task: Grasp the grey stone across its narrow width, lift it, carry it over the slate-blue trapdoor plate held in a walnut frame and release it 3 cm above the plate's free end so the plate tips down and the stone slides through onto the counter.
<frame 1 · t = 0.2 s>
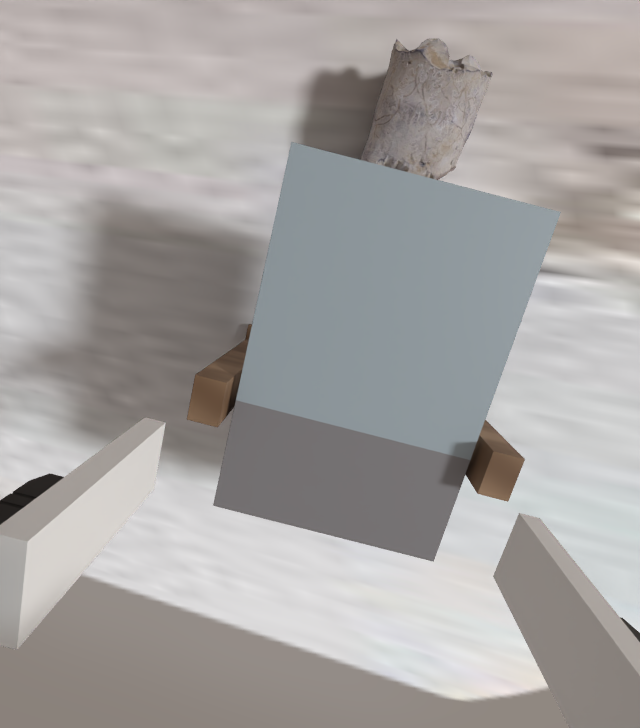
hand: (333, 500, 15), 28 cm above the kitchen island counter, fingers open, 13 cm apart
stone: (414, 136, 37), on the kitchen island counter
frame: (348, 374, 42), on the kitchen island counter
trapdoor: (367, 366, 28), point 14 cm above the kitchen island counter, hinge at 0.0°
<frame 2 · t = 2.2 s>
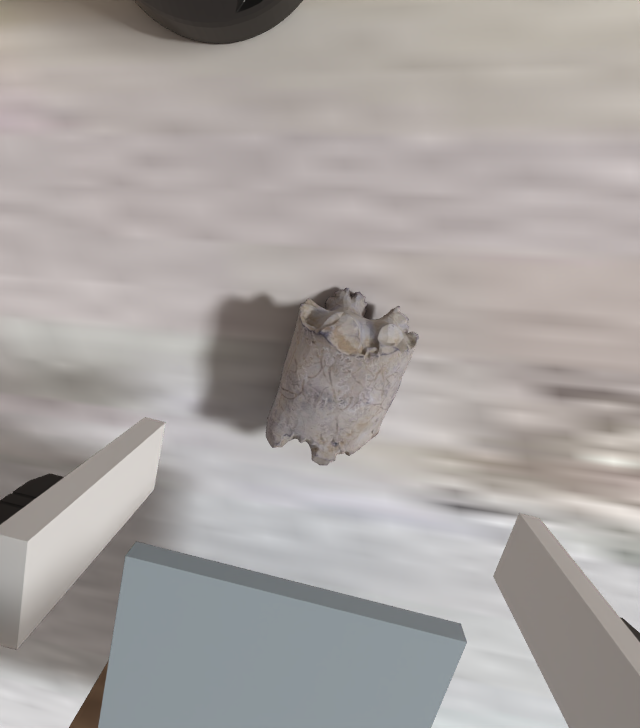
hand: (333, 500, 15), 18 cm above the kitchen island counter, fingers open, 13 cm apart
stone: (339, 365, 32), on the kitchen island counter
frame: (274, 606, 37), on the kitchen island counter
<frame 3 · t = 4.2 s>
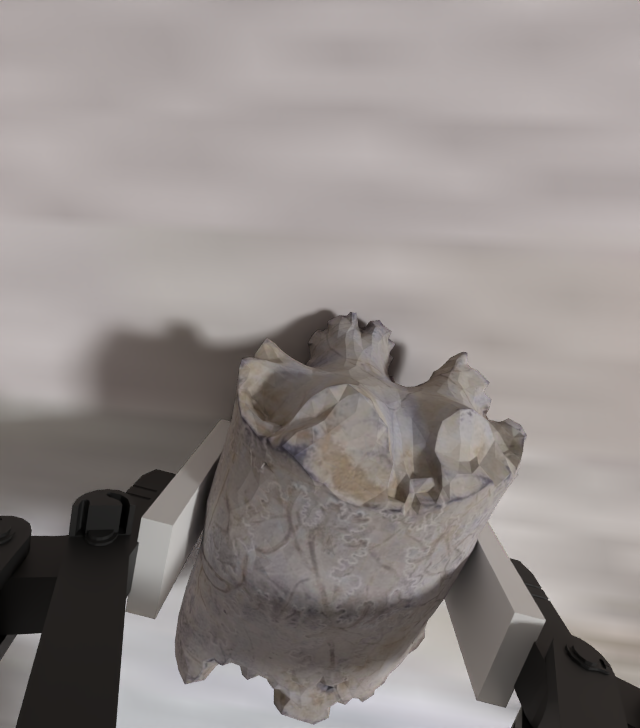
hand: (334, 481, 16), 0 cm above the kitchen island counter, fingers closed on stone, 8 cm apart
stone: (338, 461, 17), on the kitchen island counter, touching gripper
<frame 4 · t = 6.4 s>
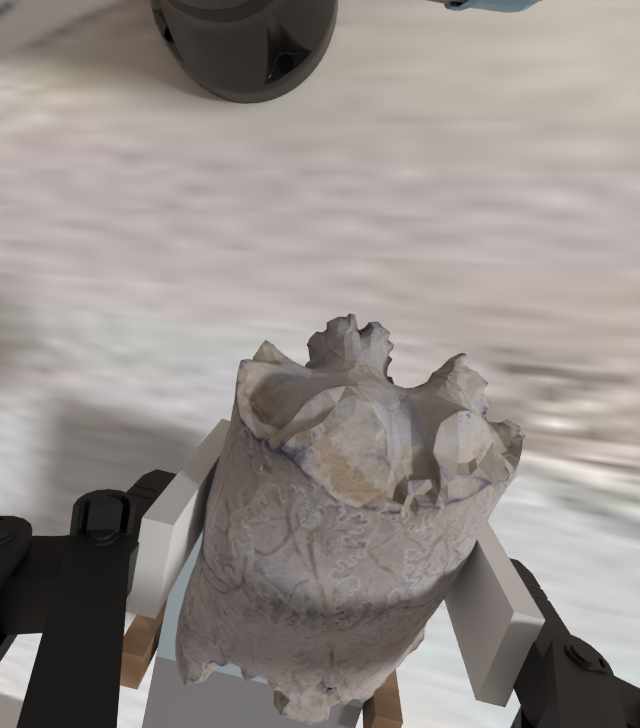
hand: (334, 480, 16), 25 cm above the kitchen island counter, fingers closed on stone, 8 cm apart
stone: (337, 462, 17), point 25 cm above the kitchen island counter, touching gripper
frame: (286, 546, 46), on the kitchen island counter
trapdoor: (275, 617, 32), point 13 cm above the kitchen island counter, hinge at 0.0°
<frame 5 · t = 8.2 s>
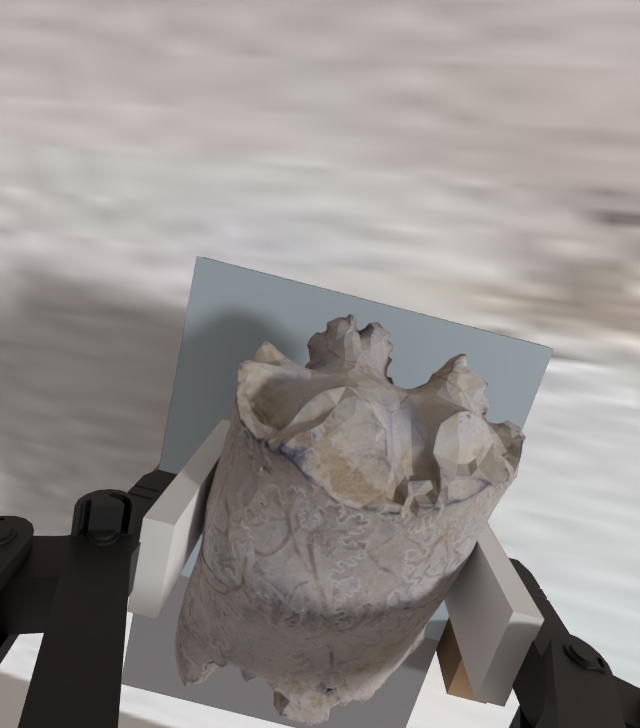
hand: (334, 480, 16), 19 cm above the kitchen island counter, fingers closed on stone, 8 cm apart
stone: (337, 462, 17), point 18 cm above the kitchen island counter, touching gripper
frame: (311, 465, 36), on the kitchen island counter
trapdoor: (312, 514, 22), point 14 cm above the kitchen island counter, hinge at 0.0°
when the fingers open (19 cm above the kitchen island counter, at t = 8.4 s): stone drops 10 cm, point 8 cm above the kitchen island counter.
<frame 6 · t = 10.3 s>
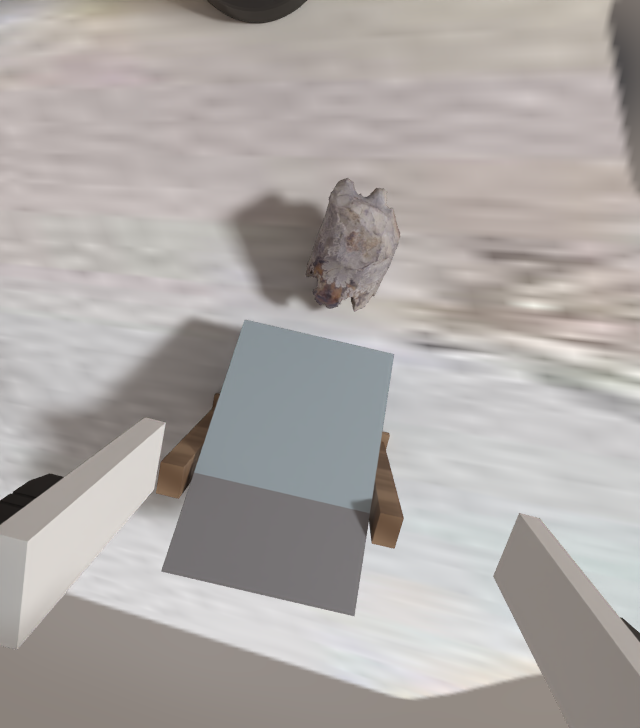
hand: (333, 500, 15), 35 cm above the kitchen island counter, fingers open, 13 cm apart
stone: (350, 266, 39), point 8 cm above the kitchen island counter
frame: (298, 431, 51), on the kitchen island counter
trapdoor: (291, 453, 40), point 11 cm above the kitchen island counter, hinge at -36.2°
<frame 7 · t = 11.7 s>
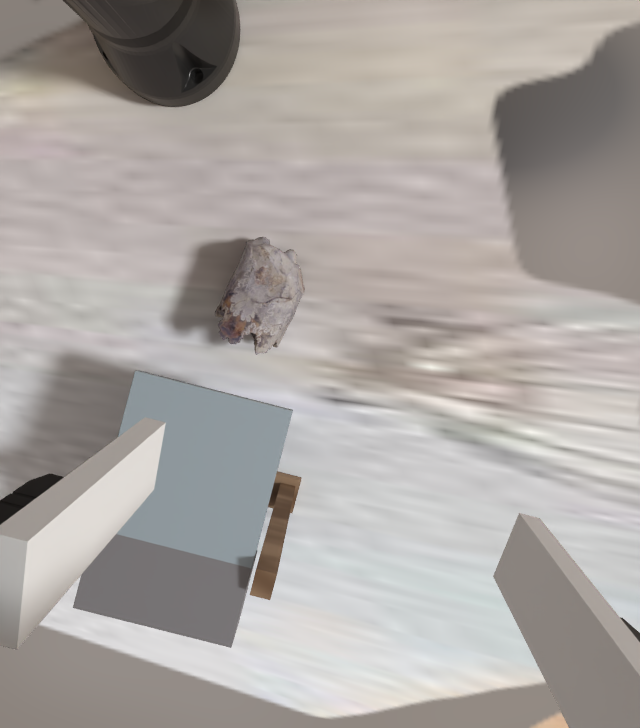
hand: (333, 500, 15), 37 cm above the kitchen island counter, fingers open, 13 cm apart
stone: (256, 297, 43), point 7 cm above the kitchen island counter
frame: (218, 473, 55), on the kitchen island counter
trapdoor: (189, 502, 42), point 13 cm above the kitchen island counter, hinge at -13.7°
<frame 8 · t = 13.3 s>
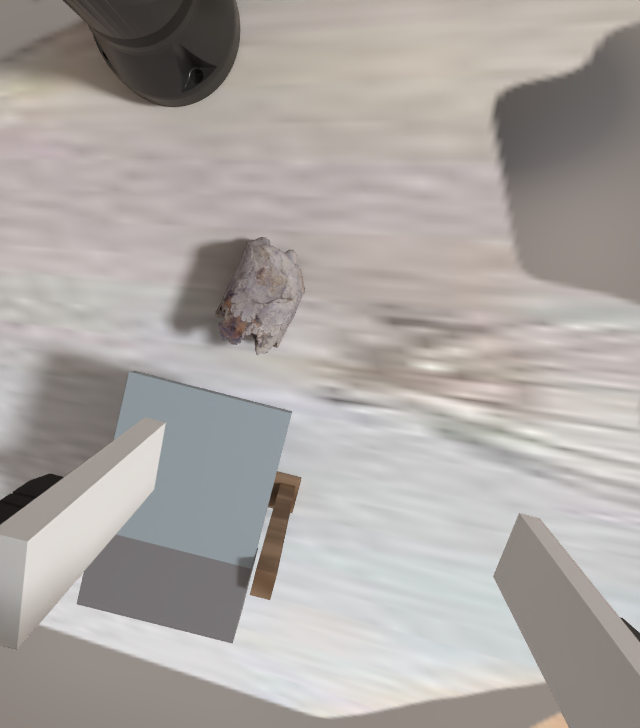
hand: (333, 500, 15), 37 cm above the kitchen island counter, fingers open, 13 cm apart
stone: (257, 298, 43), point 7 cm above the kitchen island counter
frame: (218, 473, 55), on the kitchen island counter
trapdoor: (188, 502, 42), point 13 cm above the kitchen island counter, hinge at -9.0°
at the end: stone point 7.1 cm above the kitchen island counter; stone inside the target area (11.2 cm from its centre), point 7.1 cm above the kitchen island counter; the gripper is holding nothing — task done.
